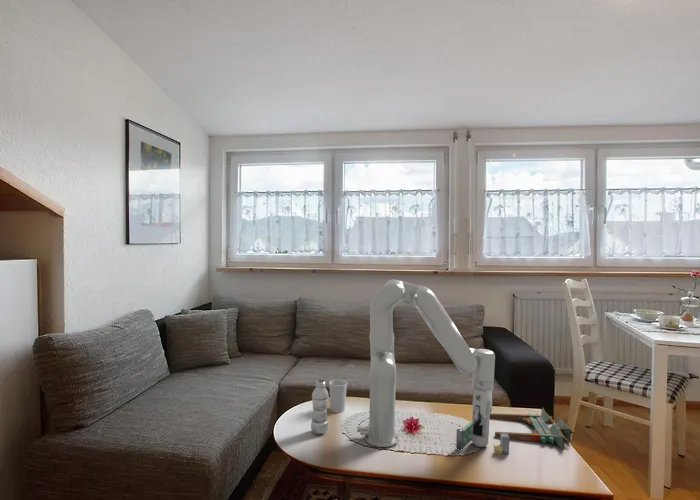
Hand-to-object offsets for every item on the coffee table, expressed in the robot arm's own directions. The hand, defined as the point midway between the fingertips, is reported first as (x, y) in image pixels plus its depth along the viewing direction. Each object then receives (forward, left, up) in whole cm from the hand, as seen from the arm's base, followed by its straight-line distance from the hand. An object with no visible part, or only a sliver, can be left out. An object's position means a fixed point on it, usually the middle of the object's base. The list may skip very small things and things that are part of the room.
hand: (480, 431), depth 147 cm
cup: (-55, +25, -5) cm, 61 cm away
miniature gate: (+24, +14, -6) cm, 28 cm away
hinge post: (-8, -4, -5) cm, 11 cm away
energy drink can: (0, 0, -5) cm, 5 cm away
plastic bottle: (-60, +3, -5) cm, 61 cm away
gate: (-4, +2, -5) cm, 7 cm away
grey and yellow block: (+6, -4, -5) cm, 9 cm away
